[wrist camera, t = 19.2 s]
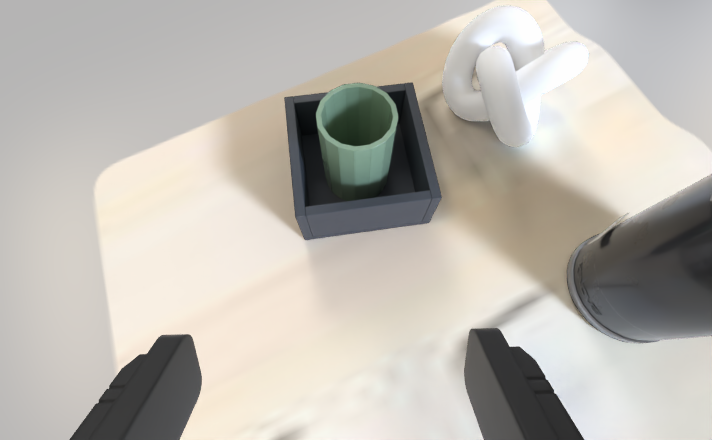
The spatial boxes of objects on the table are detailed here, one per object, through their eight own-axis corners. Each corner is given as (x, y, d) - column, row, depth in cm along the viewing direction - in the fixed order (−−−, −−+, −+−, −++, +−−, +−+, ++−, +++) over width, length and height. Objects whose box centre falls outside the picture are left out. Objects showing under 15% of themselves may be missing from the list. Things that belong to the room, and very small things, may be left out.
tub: (405, 120, 39) (412, 81, 33) (429, 223, 34) (442, 197, 29) (294, 134, 38) (284, 97, 33) (304, 240, 34) (295, 217, 29)
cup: (382, 144, 37) (390, 78, 28) (393, 198, 35) (404, 144, 26) (322, 151, 37) (312, 87, 28) (329, 206, 34) (320, 155, 26)
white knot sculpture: (516, 51, 42) (556, -26, 34) (577, 134, 38) (639, 69, 30) (426, 81, 41) (444, 7, 32) (479, 171, 36) (516, 113, 28)
